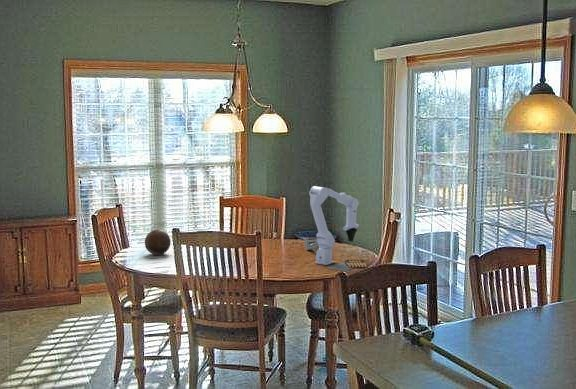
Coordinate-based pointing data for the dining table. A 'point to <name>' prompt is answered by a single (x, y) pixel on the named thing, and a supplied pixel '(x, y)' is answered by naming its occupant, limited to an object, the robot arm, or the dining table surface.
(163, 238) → the wooden sphere
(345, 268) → the mat
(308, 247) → the gun
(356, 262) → the ammunition clip
